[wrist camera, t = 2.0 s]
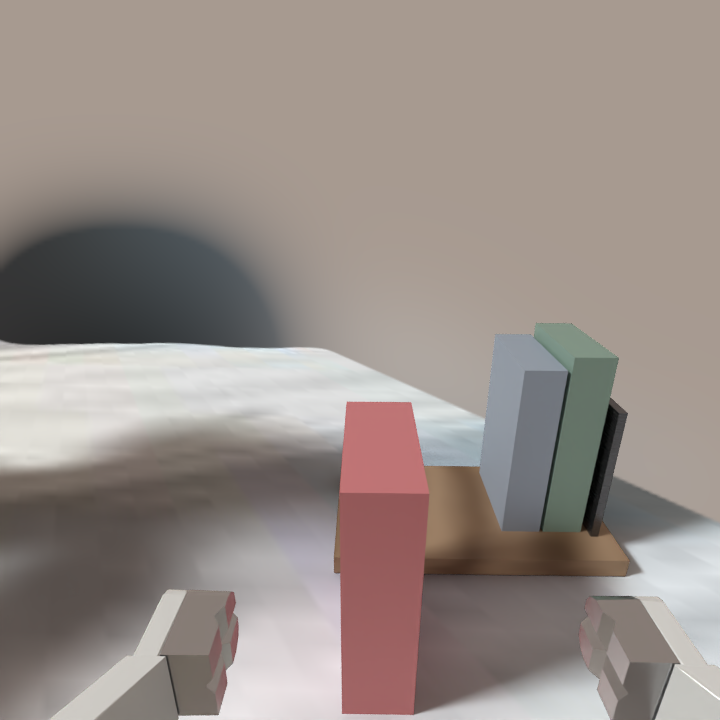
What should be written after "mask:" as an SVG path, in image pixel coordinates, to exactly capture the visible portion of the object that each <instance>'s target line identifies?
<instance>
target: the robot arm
mask: <svg viewBox="0 0 720 720" xmlns="http://www.w3.org/2000/svg"><path fill="white" fill-rule="evenodd" d="M235 604H236V601H235V595H234V592H229V591H205V590H172V589H168V590H167V591H166V592H165V593H164V595H163V596H162V598H161V600H160V602H159V604H158V606H157V608H156V610H155V612H154V614H153V616H152V618H151V620H150V622H149V624H148V626H147V628H146V630H145V632H144V634H143V637H142V639H141V641H140V643H139V645H138V647H137V649H136V651H135V653H134V655H131V656H125V657H124V658H123V659H122V660H121V661H119V662H118V663H117V664H116V665H115V666H113V667H112V668H111V669H110V670H108V671H107V672H106V673H105V674H104V675H102V676H101V677H100V678H99V679H98V680H96V681H95V682H94V683H93V684H91V685H90V686H89V687H88V688H87V689H85V690H84V691H83V692H82V693H81V694H79V695H78V696H77V697H76V698H75V699H73V700H72V701H71V702H70V703H68V704H67V705H66V706H65V707H64V708H62V709H61V710H60V711H59V712H58V713H56V714H55V715H54V716H53V717H52V718H50V719H49V720H178V719H179V717H178V716H190V715H219V712H220V708H221V704H222V701H223V697H224V694H225V690H226V687H227V677H226V670H227V669H228V668H229V667H230V666H231V665H232V664H233V661H234V657H235V653H236V649H237V642H238V627H239V625H238V617H237V616H236V615H235V614H234V613H233V611H234V607H235ZM584 609H585V611H586V613H587V615H588V617H587V618H586V619H584V620H583V621H582V622H581V624H580V629H579V642H580V649H581V652H582V656H583V659H584V661H585V664H586V666H587V668H588V670H589V671H591V672H592V673H593V674H594V675H595V676H596V677H597V678H598V679H600V680H599V684H598V688H597V691H598V693H599V695H600V697H601V700H602V702H603V704H604V706H605V709H606V711H607V713H608V715H609V717H610V720H720V668H718V667H717V666H715V665H708V664H707V663H706V662H705V660H704V659H703V657H702V656H701V654H700V653H699V652H698V650H697V649H696V647H695V646H694V644H693V643H692V642H691V640H690V639H689V637H688V636H687V634H686V633H685V632H684V630H683V629H682V627H681V626H680V624H679V623H678V622H677V620H676V619H675V617H674V616H673V614H672V613H671V612H670V610H669V609H668V607H667V606H666V604H665V603H664V602H663V600H661V599H660V598H659V597H637V596H635V597H632V596H590V597H589V598H588V599H587V600H586V603H585V607H584Z"/></svg>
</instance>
